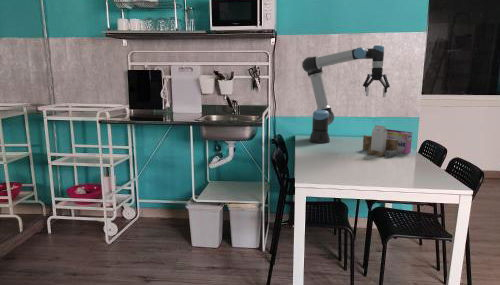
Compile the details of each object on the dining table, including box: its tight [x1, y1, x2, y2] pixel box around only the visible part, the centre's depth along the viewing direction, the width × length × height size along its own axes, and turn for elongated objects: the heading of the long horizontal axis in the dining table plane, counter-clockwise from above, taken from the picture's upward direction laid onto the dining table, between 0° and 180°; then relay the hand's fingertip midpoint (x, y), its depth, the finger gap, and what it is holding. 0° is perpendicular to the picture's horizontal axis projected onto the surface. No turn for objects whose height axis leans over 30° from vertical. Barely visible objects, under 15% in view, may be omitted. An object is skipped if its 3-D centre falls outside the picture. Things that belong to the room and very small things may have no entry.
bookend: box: [384, 149, 397, 159], centre depth 251 cm, size 2×10×4 cm, turn 134°
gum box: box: [386, 128, 413, 154], centre depth 269 cm, size 24×8×14 cm, turn 44°
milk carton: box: [371, 124, 387, 155], centre depth 255 cm, size 7×7×19 cm
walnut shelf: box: [362, 134, 398, 158], centre depth 258 cm, size 24×12×10 cm, turn 44°
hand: (375, 96), depth 288 cm, fingers open, 13 cm apart
